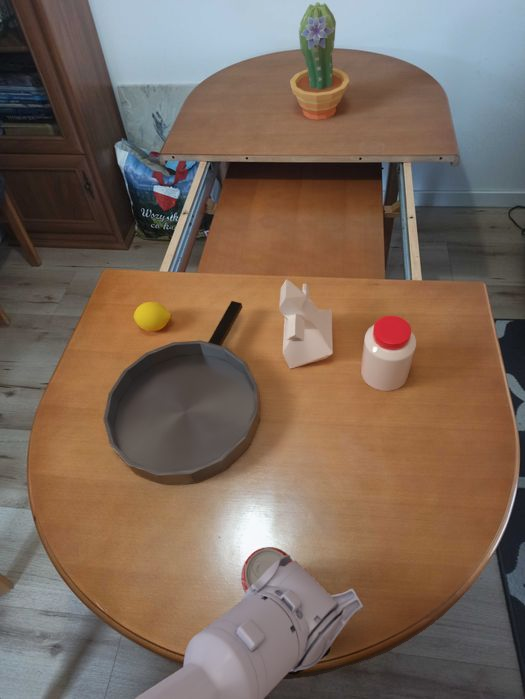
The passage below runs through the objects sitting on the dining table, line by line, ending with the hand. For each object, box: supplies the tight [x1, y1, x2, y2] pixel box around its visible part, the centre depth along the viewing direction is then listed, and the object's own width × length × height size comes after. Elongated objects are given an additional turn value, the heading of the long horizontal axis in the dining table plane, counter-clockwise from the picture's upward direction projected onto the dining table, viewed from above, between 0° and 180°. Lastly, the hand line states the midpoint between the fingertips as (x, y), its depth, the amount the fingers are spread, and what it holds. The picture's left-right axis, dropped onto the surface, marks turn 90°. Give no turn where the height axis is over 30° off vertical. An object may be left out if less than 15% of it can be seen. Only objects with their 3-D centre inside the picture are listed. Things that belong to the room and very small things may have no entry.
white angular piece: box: [278, 278, 334, 369], centre depth 82 cm, size 8×14×14 cm, turn 176°
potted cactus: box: [289, 1, 351, 121], centre depth 124 cm, size 15×15×25 cm
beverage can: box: [240, 546, 294, 594], centre depth 58 cm, size 6×6×12 cm
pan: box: [102, 300, 261, 486], centre depth 81 cm, size 34×24×4 cm
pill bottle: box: [359, 315, 417, 392], centre depth 78 cm, size 8×8×11 cm
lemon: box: [133, 301, 172, 332], centre depth 90 cm, size 7×5×5 cm
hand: (300, 645), depth 58 cm, fingers closed
